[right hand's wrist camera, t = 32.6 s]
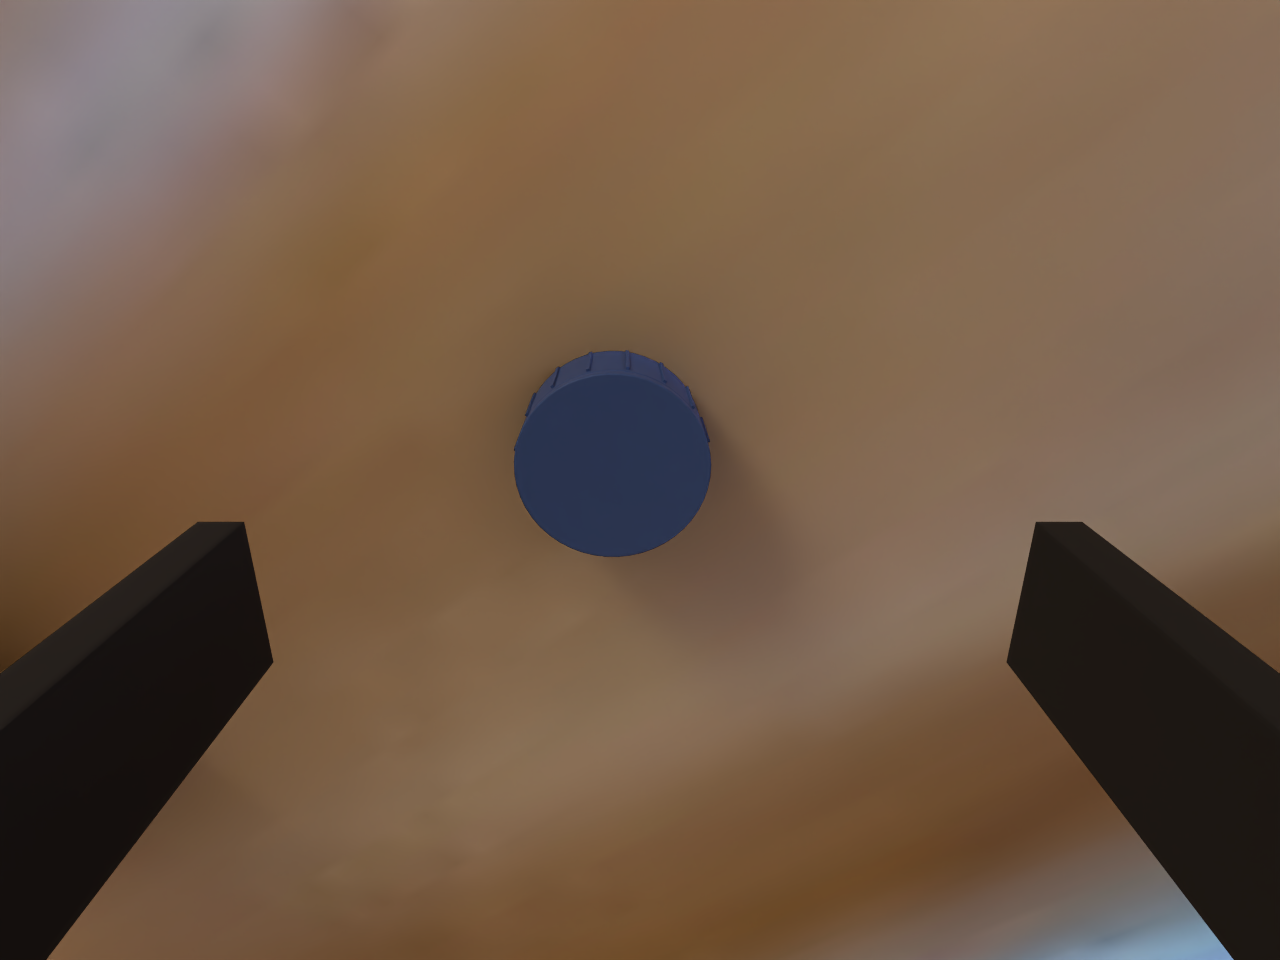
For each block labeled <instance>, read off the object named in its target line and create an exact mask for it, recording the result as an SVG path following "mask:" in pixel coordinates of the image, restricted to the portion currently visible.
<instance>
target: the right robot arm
mask: <svg viewBox="0 0 1280 960" xmlns="http://www.w3.org/2000/svg"><path fill="white" fill-rule="evenodd" d="M272 663H273V658H272V653H271V648H270V643H269V639H268V634H267V629H266V624H265V620H264V615H263V610H262V605H261V600H260V596H259V591H258V586H257V581H256V577H255V572H254V567H253V562H252V558H251V553H250V548H249V543H248V538H247V534H246V529H245V524H244V522H197V523H196V524H195V525H193V526H192V527H191V528H189V529H188V530H187V531H185V532H184V533H183V534H181V535H180V536H179V537H178V538H176V539H175V540H174V541H172V542H171V543H170V544H168V545H167V546H166V547H165V548H163V549H162V550H161V551H159V552H158V553H157V554H155V555H154V556H153V557H152V558H150V559H149V560H148V561H146V562H145V563H144V564H142V565H141V566H140V567H139V568H137V569H136V570H135V571H133V572H132V573H131V574H129V575H128V576H127V577H126V578H124V579H123V580H122V581H120V582H119V583H118V584H116V585H115V586H114V587H112V588H111V589H110V590H109V591H107V592H106V593H105V594H103V595H102V596H101V597H99V598H98V599H97V600H96V601H94V602H93V603H92V604H90V605H89V606H88V607H86V608H85V609H84V610H83V611H81V612H80V613H79V614H77V615H76V616H75V617H73V618H72V619H71V620H70V621H68V622H67V623H66V624H64V625H63V626H62V627H60V628H59V629H58V630H56V631H55V632H54V633H53V634H51V635H50V636H49V637H47V638H46V639H45V640H43V641H42V642H41V643H40V644H38V645H37V646H36V647H34V648H33V649H32V650H30V651H29V652H28V653H27V654H25V655H24V656H23V657H21V658H20V659H19V660H17V661H16V662H15V663H14V664H12V665H11V666H10V667H8V668H7V669H6V670H4V671H3V672H2V673H0V960H46V959H47V958H48V957H49V955H50V954H51V953H52V951H53V950H54V949H55V947H56V946H57V945H58V944H59V942H60V941H61V940H62V938H63V937H64V936H65V934H66V933H67V932H68V930H69V929H70V928H71V927H72V925H73V924H74V923H75V921H76V920H77V919H78V917H79V916H80V915H81V913H82V912H83V911H84V910H85V908H86V907H87V906H88V904H89V903H90V902H91V900H92V899H93V898H94V896H95V895H96V894H97V892H98V891H99V890H100V889H101V887H102V886H103V885H104V883H105V882H106V881H107V879H108V878H109V877H110V875H111V874H112V873H113V872H114V870H115V869H116V868H117V866H118V865H119V864H120V862H121V861H122V860H123V858H124V857H125V856H126V855H127V853H128V852H129V851H130V849H131V848H132V847H133V845H134V844H135V843H136V841H137V840H138V839H139V838H140V836H141V835H142V834H143V832H144V831H145V830H146V828H147V827H148V826H149V824H150V823H151V822H152V821H153V819H154V818H155V817H156V815H157V814H158V813H159V811H160V810H161V809H162V807H163V806H164V805H165V803H166V802H167V801H168V800H169V798H170V797H171V796H172V794H173V793H174V792H175V790H176V789H177V788H178V786H179V785H180V784H181V783H182V781H183V780H184V779H185V777H186V776H187V775H188V773H189V772H190V771H191V769H192V768H193V767H194V766H195V764H196V763H197V762H198V760H199V759H200V758H201V756H202V755H203V754H204V752H205V751H206V750H207V749H208V747H209V746H210V745H211V743H212V742H213V741H214V739H215V738H216V737H217V735H218V734H219V733H220V731H221V730H222V729H223V728H224V726H225V725H226V724H227V722H228V721H229V720H230V718H231V717H232V716H233V714H234V713H235V712H236V711H237V709H238V708H239V707H240V705H241V704H242V703H243V701H244V700H245V699H246V697H247V696H248V695H249V694H250V692H251V691H252V690H253V688H254V687H255V686H256V684H257V683H258V682H259V680H260V679H261V678H262V677H263V675H264V674H265V673H266V671H267V670H268V669H269V667H270V666H271V665H272ZM1007 663H1008V665H1009V666H1010V667H1011V669H1012V670H1013V671H1014V673H1015V674H1016V675H1017V677H1018V678H1019V679H1020V680H1021V682H1022V683H1023V684H1024V686H1025V687H1026V688H1027V690H1028V691H1029V692H1030V694H1031V695H1032V696H1033V697H1034V699H1035V700H1036V701H1037V703H1038V704H1039V705H1040V707H1041V708H1042V709H1043V711H1044V712H1045V713H1046V714H1047V716H1048V717H1049V718H1050V720H1051V721H1052V722H1053V724H1054V725H1055V726H1056V728H1057V729H1058V730H1059V731H1060V733H1061V734H1062V735H1063V737H1064V738H1065V739H1066V741H1067V742H1068V743H1069V745H1070V746H1071V747H1072V749H1073V750H1074V751H1075V752H1076V754H1077V755H1078V756H1079V758H1080V759H1081V760H1082V762H1083V763H1084V764H1085V766H1086V767H1087V768H1088V769H1089V771H1090V772H1091V773H1092V775H1093V776H1094V777H1095V779H1096V780H1097V781H1098V783H1099V784H1100V785H1101V786H1102V788H1103V789H1104V790H1105V792H1106V793H1107V794H1108V796H1109V797H1110V798H1111V800H1112V801H1113V802H1114V803H1115V805H1116V806H1117V807H1118V809H1119V810H1120V811H1121V813H1122V814H1123V815H1124V817H1125V818H1126V819H1127V820H1128V822H1129V823H1130V824H1131V826H1132V827H1133V828H1134V830H1135V831H1136V832H1137V834H1138V835H1139V836H1140V838H1141V839H1142V840H1143V841H1144V843H1145V844H1146V845H1147V847H1148V848H1149V849H1150V851H1151V852H1152V853H1153V855H1154V856H1155V857H1156V858H1157V860H1158V861H1159V862H1160V864H1161V865H1162V866H1163V868H1164V869H1165V870H1166V872H1167V873H1168V874H1169V875H1170V877H1171V878H1172V879H1173V881H1174V882H1175V883H1176V885H1177V886H1178V887H1179V889H1180V890H1181V891H1182V892H1183V894H1184V895H1185V896H1186V898H1187V899H1188V900H1189V902H1190V903H1191V904H1192V906H1193V907H1194V908H1195V910H1196V911H1197V912H1198V913H1199V915H1200V916H1201V917H1202V919H1203V920H1204V921H1205V923H1206V924H1207V925H1208V927H1209V928H1210V929H1211V930H1212V932H1213V933H1214V934H1215V936H1216V937H1217V938H1218V940H1219V941H1220V942H1221V944H1222V945H1223V946H1224V947H1225V949H1226V950H1227V951H1228V953H1229V954H1230V955H1231V957H1232V958H1233V959H1234V960H1280V673H1278V672H1277V671H1276V670H1274V669H1273V668H1272V667H1270V666H1269V665H1268V664H1266V663H1265V662H1264V661H1263V660H1261V659H1260V658H1259V657H1257V656H1256V655H1255V654H1253V653H1252V652H1251V651H1250V650H1248V649H1247V648H1246V647H1244V646H1243V645H1242V644H1240V643H1239V642H1238V641H1237V640H1235V639H1234V638H1233V637H1231V636H1230V635H1229V634H1227V633H1226V632H1225V631H1224V630H1222V629H1221V628H1220V627H1218V626H1217V625H1216V624H1214V623H1213V622H1212V621H1210V620H1209V619H1208V618H1207V617H1205V616H1204V615H1203V614H1201V613H1200V612H1199V611H1197V610H1196V609H1195V608H1194V607H1192V606H1191V605H1190V604H1188V603H1187V602H1186V601H1184V600H1183V599H1182V598H1181V597H1179V596H1178V595H1177V594H1175V593H1174V592H1173V591H1171V590H1170V589H1169V588H1168V587H1166V586H1165V585H1164V584H1162V583H1161V582H1160V581H1158V580H1157V579H1156V578H1154V577H1153V576H1152V575H1151V574H1149V573H1148V572H1147V571H1145V570H1144V569H1143V568H1141V567H1140V566H1139V565H1138V564H1136V563H1135V562H1134V561H1132V560H1131V559H1130V558H1128V557H1127V556H1126V555H1125V554H1123V553H1122V552H1121V551H1119V550H1118V549H1117V548H1115V547H1114V546H1113V545H1112V544H1110V543H1109V542H1108V541H1106V540H1105V539H1104V538H1102V537H1101V536H1100V535H1099V534H1097V533H1096V532H1095V531H1093V530H1092V529H1091V528H1089V527H1088V526H1087V525H1085V524H1084V523H1083V522H1036V524H1035V529H1034V534H1033V538H1032V543H1031V548H1030V553H1029V558H1028V562H1027V567H1026V572H1025V577H1024V581H1023V586H1022V591H1021V596H1020V601H1019V605H1018V610H1017V615H1016V620H1015V624H1014V629H1013V634H1012V639H1011V643H1010V648H1009V653H1008V658H1007Z"/></svg>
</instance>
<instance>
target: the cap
mask: <svg viewBox="0 0 1280 960" xmlns="http://www.w3.org/2000/svg"><path fill="white" fill-rule="evenodd" d="M525 416H526V419H525V422H524V424H523V426H522V429H521V432H520V434H519V437H518V440H517V442H516V445H515V447H514V451H515V457H514V473H515V479H516V485H517V488H518V491H519V494H520V497H521V499H522V501H523V503H524V506H525V508H526V509H527V511H528V512H529V514H530V515H531V517H532V518H533V519H534V520H535V522H536V523H537V524H538V525H539V526H540V527H541V528H542V529H543V530H544V531H545V532H546V533H547V534H549V535H550V536H551V537H553V538H554V539H556V540H557V541H558V542H560V543H562V544H564V545H566V546H568V547H570V548H572V549H575V550H577V551H580V552H583V553H587V554H591V555H597V556H604V557H620V556H630V555H634V554H639V553H643V552H646V551H648V550H651V549H654V548H656V547H658V546H660V545H662V544H664V543H666V542H667V541H669V540H670V539H672V538H673V537H675V536H676V535H677V534H678V533H679V532H680V531H682V530H683V529H684V528H685V527H686V526H687V525H688V523H689V522H690V521H691V520H692V519H693V517H694V516H695V514H696V513H697V512H698V510H699V508H700V506H701V504H702V502H703V500H704V498H705V495H706V492H707V489H708V485H709V481H710V473H711V457H710V450H709V445H708V442H710V440H709V436H708V433H707V431H706V428H705V425H704V422H703V419H702V417H700V416H699V413H698V411H697V408H696V405H695V402H694V400H693V399H692V396H691V393H690V390H689V387H688V386H686V387H685V386H684V384H683V383H682V382H681V381H680V380H679V379H678V378H677V377H676V376H675V375H674V374H673V373H672V372H671V371H669V370H668V369H667V368H666V367H664V365H663V363H661V362H660V364H659V363H657V362H656V361H654V360H651V359H649V358H647V357H645V356H641V355H638V354H634V353H629V351H627V350H626V351H625V352H622V351H604V352H596V353H592V352H589V354H588V355H584V356H582V357H579V358H577V359H574V360H572V361H570V362H569V363H567V364H565V365H563V366H562V367H561V368H559V367H557V368H556V370H555V372H554V373H553V374H552V375H551V376H550V377H549V378H548V379H547V380H546V381H545V382H544V384H543V385H542V386H541V387H540V389H539V390H538V392H537V394H536V393H534V394H533V396H532V399H531V401H530V404H529V406H528V409H527V411H526V414H525Z"/></svg>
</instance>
